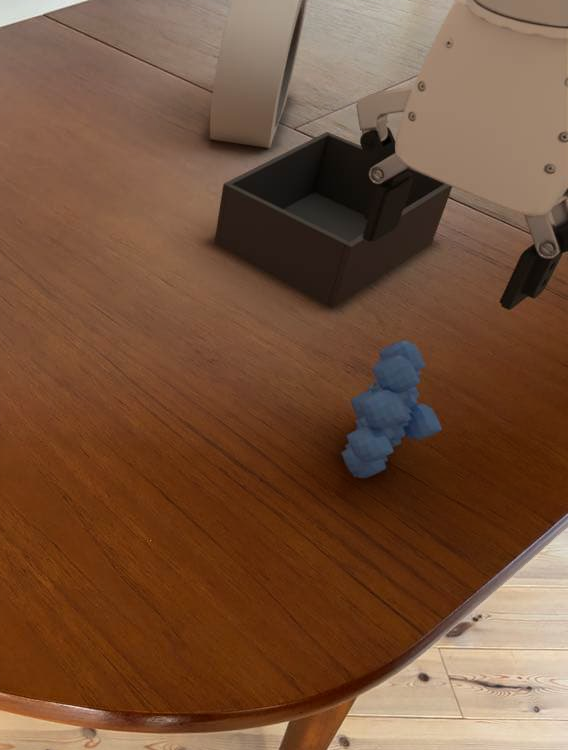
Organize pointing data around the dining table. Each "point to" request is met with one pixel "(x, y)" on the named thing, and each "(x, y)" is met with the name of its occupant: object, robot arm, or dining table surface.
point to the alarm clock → (255, 69)
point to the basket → (322, 219)
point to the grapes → (388, 411)
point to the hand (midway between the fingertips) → (444, 265)
